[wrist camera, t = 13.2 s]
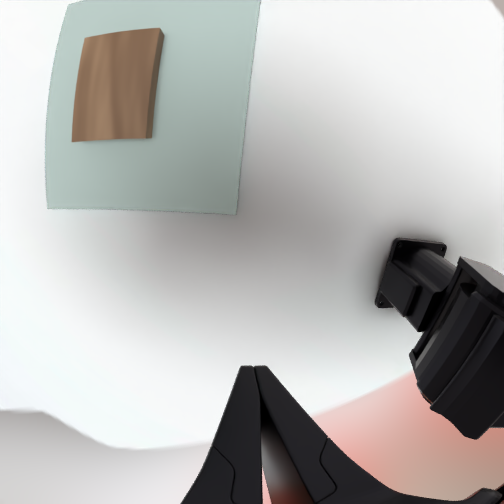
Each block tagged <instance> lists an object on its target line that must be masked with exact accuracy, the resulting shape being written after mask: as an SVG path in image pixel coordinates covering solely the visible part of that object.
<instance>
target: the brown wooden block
mask: <svg viewBox="0 0 504 504" xmlns="http://www.w3.org/2000/svg"><path fill="white" fill-rule="evenodd" d="M164 36H165V35H164V34H163V32H162V30H161V28H148V29H137V30H128V31H120V32H114V33H107V34H102V35H96V36H91V37H86V38H85V39H84V43H83V48H82V53H81V58H80V64H79V70H78V76H77V83H76V91H75V99H74V109H73V122H72V142H82V141H95V140H113V139H147V138H152V129H153V117H154V106H155V97H156V88H157V80H158V73H159V66H160V59H161V53H162V47H163V41H164Z"/></svg>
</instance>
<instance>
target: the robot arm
mask: <svg viewBox="0 0 504 504" xmlns="http://www.w3.org/2000/svg"><path fill="white" fill-rule="evenodd" d="M399 243H400V245H399V246H398V244H399ZM446 249H447V246H446V245H445V244H444V243H440V242H432V241H423V240H414V239H405V238H397V239H396V240H395V241H394V243H393V246H392V250H391V253H390V257H389V260H388V264H387V267H386V270H385V273H384V277H383V280H382V283H381V286H380V289H379V292H378V295H377V298H376V301H375V305H376V306H377V307H378V308H393V307H395V308H396V310H397V311H398V312H399V313H400V314H401V315H402V316H403V317H405V318H406V319H407V320H408V321H409V322H410V323H411V325H412V326H413V327H414V328H415V329H416V331H417V332H422V333H423V334H422V336H421V338H420V339H419V341H418V343H417V344H416V346H415V347H414V349H412V350H411V352H410V354H409V357H410V360H411V363H412V366H413V370H414V373H415V376H416V379H417V387H418V389H419V390H420V392H421V394H422V396H423V398H424V399H425V400H426V401H427V402H428V403H430V404H431V406H430V409H431V410H432V411H434V412H436V413H438V414H441V415H442V416H444V417H445V418H446V419H448V420H449V421H450V422H451V423H452V424H454V426H455V427H456V428H457V429H458V430H459V431H460V432H461V433H462V434H463V435H464V436H465V437H468V438H471V439H479V438H480V437H481V436H482V435H483V434H484V433H485V432H486V431H487V430H488V429H489V428H504V275H502V274H501V273H499V272H498V271H496V270H494V269H493V268H491V267H490V266H488V265H485V264H482V263H479V262H476V261H473V260H470V259H467V258H464V257H461V256H460V258H459V260H458V262H457V264H458V265H457V267H455V266H454V265H453V264H451V263H450V262H448V261H447V260H446V259H444V256H445V252H446ZM381 301H382V302H381ZM380 302H381V303H380ZM327 437H328V436H327V435H326V434H325V433H324V431H323V430H322V429H321V428H320V427H319V426H318V425H317V424H316V423H315V422H314V420H312V418H311V417H310V416H309V415H308V414H307V413H306V411H305V410H304V409H303V408H302V407H301V406H300V405H299V403H298V402H297V401H296V400H295V399H294V398H293V397H292V395H291V394H290V393H289V392H288V391H287V390H286V388H285V387H284V386H283V385H282V384H281V382H280V381H279V380H278V379H277V378H276V376H275V375H274V374H273V373H272V372H271V370H270V369H269V368H268V367H267V366H265V365H262V366H254V367H253V366H241V367H240V369H239V372H238V374H237V377H236V380H235V383H234V385H233V388H232V391H231V394H230V397H229V399H228V402H227V405H226V407H225V410H224V413H223V416H222V418H221V421H220V424H219V426H218V429H217V432H216V434H215V437H214V439H213V442H212V446H211V447H210V450H209V452H208V455H207V457H206V460H205V462H204V464H203V466H202V469H201V471H200V472H199V474H198V476H197V478H196V480H195V481H194V483H193V485H192V486H191V488H190V490H189V491H188V493H187V494H186V496H185V497H184V499H183V501H182V502H181V504H263V498H262V466H263V471H264V475H265V479H266V483H267V487H268V491H269V495H270V499H271V503H272V504H504V484H502V485H501V486H500V487H498V488H497V489H495V490H492V489H487V488H481V489H480V490H478V491H476V492H475V493H473V494H472V495H470V496H469V497H467V498H466V499H464V500H461V501H447V500H438V499H431V498H424V497H418V496H412V495H407V494H403V493H399V492H397V491H394V490H392V489H390V488H388V487H387V486H385V485H384V484H382V483H381V482H379V481H378V480H377V479H375V478H374V477H373V476H372V475H370V474H369V473H368V472H366V471H365V470H364V469H362V468H361V467H360V466H359V465H357V464H356V463H355V462H354V461H353V460H351V459H350V458H349V457H348V456H347V455H346V454H345V453H344V452H343V451H342V450H340V448H339V447H338V446H337V445H336V444H335V443H334V442H333V441H332V440H331V439H330V438H327Z"/></svg>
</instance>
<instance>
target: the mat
mask: <svg viewBox="0 0 504 504" xmlns="http://www.w3.org/2000/svg"><path fill="white" fill-rule="evenodd" d="M259 7H260V0H83V1H79V2H76V3H72V4H69V5H68V7H67V11H66V14H65V17H64V21H63V24H62V28H61V32H60V36H59V40H58V44H57V48H56V53H55V58H54V63H53V69H52V75H51V81H50V88H49V96H48V106H47V118H46V135H45V178H46V197H47V209H108V210H145V211H171V212H192V213H211V214H228V215H236V212H237V201H238V191H239V180H240V170H241V160H242V150H243V141H244V131H245V122H246V113H247V104H248V95H249V86H250V78H251V69H252V61H253V53H254V45H255V37H256V30H257V22H258V14H259ZM148 28H161V30H162V32H163V34H164V35H165V36H164V41H163V47H162V53H161V59H160V66H159V73H158V80H157V88H156V97H155V106H154V117H153V129H152V138H147V139H113V140H95V141H82V142H72V122H73V109H74V99H75V91H76V83H77V76H78V70H79V64H80V58H81V53H82V48H83V43H84V39H85V38H86V37H91V36H96V35H102V34H107V33H114V32H120V31H128V30H137V29H148Z"/></svg>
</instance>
